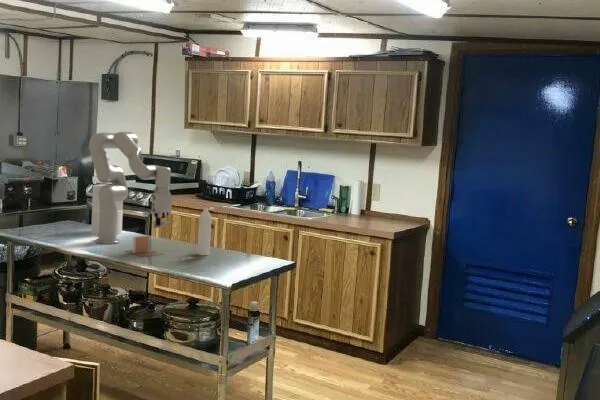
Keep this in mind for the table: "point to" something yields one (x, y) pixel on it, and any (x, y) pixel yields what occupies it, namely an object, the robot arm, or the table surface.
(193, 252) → the table surface
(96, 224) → the cylinder
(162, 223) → the turner
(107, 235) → the robot arm
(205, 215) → the water bottle
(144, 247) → the tile
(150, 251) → the board
